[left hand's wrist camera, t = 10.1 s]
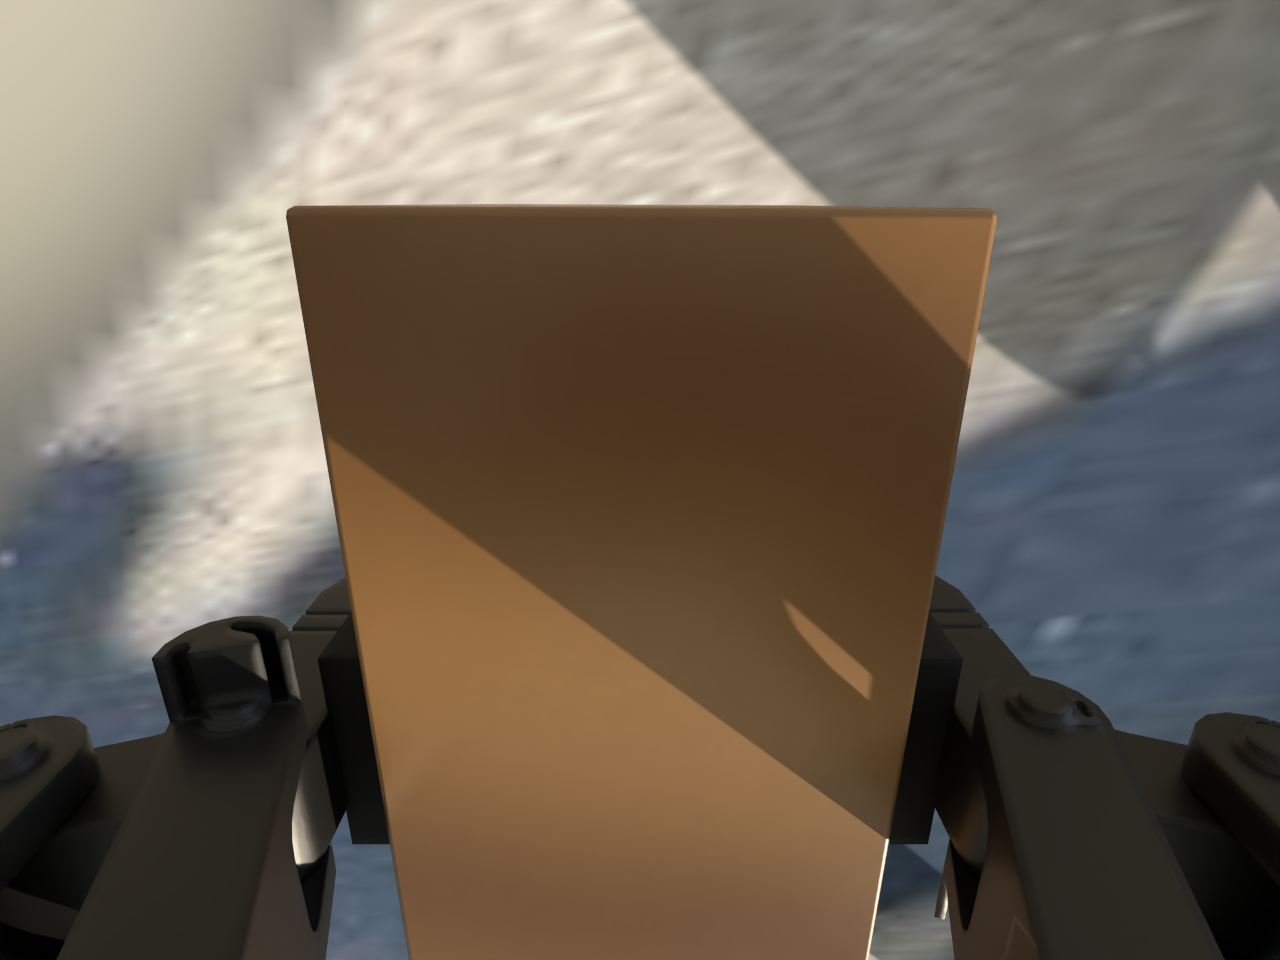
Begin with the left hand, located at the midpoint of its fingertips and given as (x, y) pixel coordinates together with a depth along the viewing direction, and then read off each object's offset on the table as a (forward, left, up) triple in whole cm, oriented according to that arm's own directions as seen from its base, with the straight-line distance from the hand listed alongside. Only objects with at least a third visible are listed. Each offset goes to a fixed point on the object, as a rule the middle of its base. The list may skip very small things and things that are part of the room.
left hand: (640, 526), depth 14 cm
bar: (+3, +28, -1) cm, 28 cm away
